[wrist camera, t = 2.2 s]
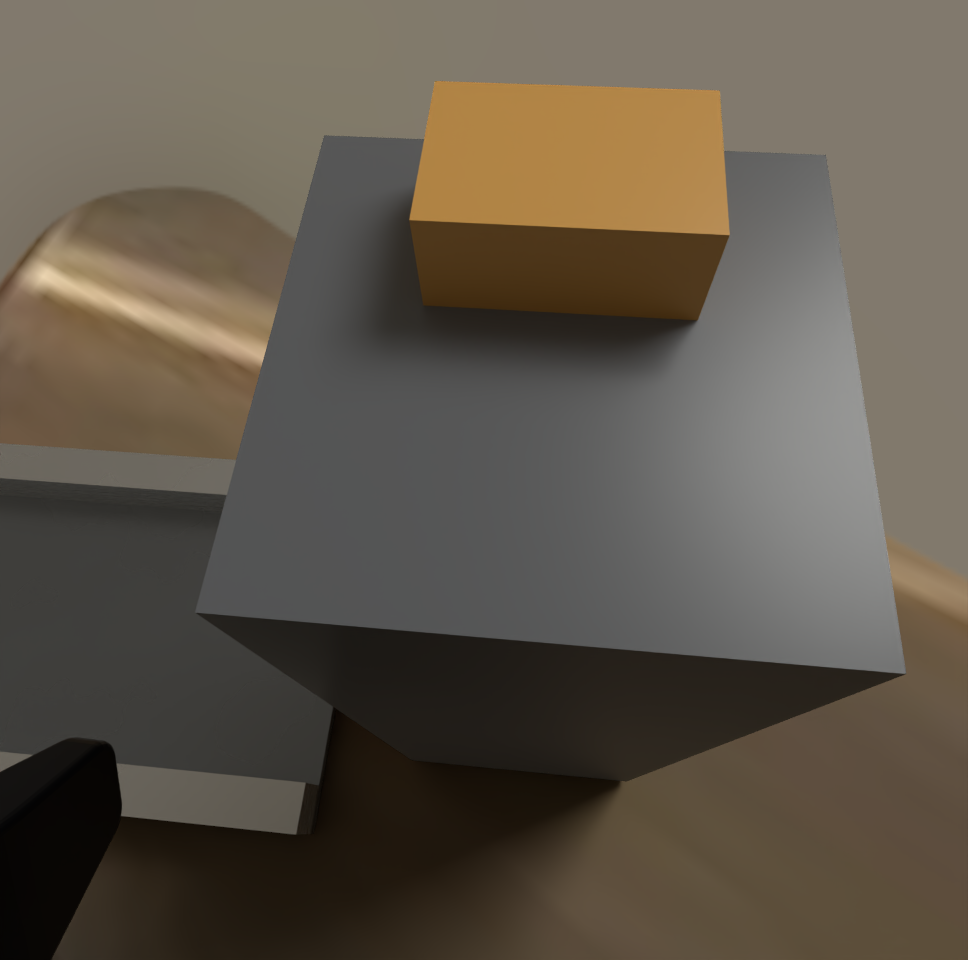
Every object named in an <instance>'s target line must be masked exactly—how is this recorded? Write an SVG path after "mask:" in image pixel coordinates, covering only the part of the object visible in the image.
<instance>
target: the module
mask: <svg viewBox="0 0 968 960" xmlns="http://www.w3.org/2000/svg"><path fill="white" fill-rule="evenodd" d="M854 341H855V340H854V334H853V327H852V321H851V314H850V308H849V302H848V295H847V289H846V282H845V276H844V269H843V263H842V257H841V250H840V245H839V237H838V231H837V224H836V218H835V212H834V205H833V198H832V192H831V186H830V179H829V172H828V166H827V160H826V155H812V154H810V155H809V154H786V153H760V152H759V153H758V152H735V151H724V146H723V131H722V116H721V102H720V91H715V90H714V91H713V90H684V89H654V88H624V87H595V86H594V87H593V86H564V85H534V84H503V83H475V82H474V83H473V82H445V81H435V84H434V90H433V95H432V100H431V105H430V111H429V116H428V122H427V127H426V132H425V138H424V139H401V138H376V137H350V136H348V137H347V136H324V138H323V142H322V146H321V150H320V153H319V157H318V161H317V164H316V168H315V172H314V176H313V179H312V183H311V186H310V190H309V194H308V197H307V201H306V205H305V208H304V213H303V216H302V220H301V223H300V227H299V231H298V234H297V238H296V242H295V245H294V249H293V253H292V256H291V260H290V264H289V267H288V271H287V275H286V279H285V282H284V286H283V290H282V293H281V297H280V301H279V304H278V308H277V312H276V315H275V319H274V323H273V326H272V330H271V334H270V338H269V341H268V345H267V349H266V352H265V356H264V360H263V363H262V367H261V371H260V374H259V378H258V382H257V385H256V389H255V393H254V396H253V400H252V404H251V408H250V411H249V415H248V419H247V422H246V426H245V430H244V433H243V437H242V441H241V444H240V448H239V452H238V455H237V459H236V463H235V467H234V470H233V474H232V478H231V481H230V485H229V489H228V492H227V496H226V500H225V503H224V507H223V511H222V514H221V518H220V522H219V526H218V529H217V533H216V537H215V540H214V544H213V548H212V551H211V555H210V559H209V562H208V566H207V570H206V573H205V577H204V581H203V585H202V588H201V592H200V596H199V599H198V603H197V607H196V610H195V613H196V614H198V615H199V616H201V617H202V618H204V619H205V620H207V621H208V622H210V623H211V624H212V625H214V626H215V627H217V628H218V629H220V630H221V631H223V632H224V633H226V634H227V635H229V636H230V637H232V638H233V639H234V640H236V641H237V642H239V643H240V644H242V645H243V646H245V647H246V648H248V649H249V650H251V651H252V652H254V653H255V654H256V655H258V656H259V657H261V658H262V659H264V660H265V661H267V662H268V663H270V664H271V665H273V666H274V667H276V668H277V669H279V670H280V671H281V672H283V673H284V674H286V675H287V676H289V677H290V678H292V679H293V680H295V681H296V682H298V683H299V684H301V685H302V686H303V687H305V688H306V689H308V690H309V691H311V692H312V693H314V694H315V695H317V696H318V697H320V698H321V699H323V700H324V701H325V702H327V703H328V704H330V705H331V706H333V707H334V708H336V709H337V710H339V711H340V712H342V713H343V714H345V715H346V716H348V717H349V718H350V719H352V720H353V721H355V722H356V723H358V724H359V725H361V726H362V727H364V728H365V729H367V730H368V731H370V732H371V733H372V734H374V735H375V736H377V737H378V738H380V739H381V740H383V741H384V742H386V743H387V744H389V745H390V746H392V747H393V748H394V749H396V750H397V751H399V752H400V753H402V754H403V755H405V756H406V757H408V758H409V759H411V760H414V761H424V762H434V763H444V764H455V765H465V766H475V767H485V768H495V769H505V770H515V771H525V772H536V773H546V774H556V775H566V776H576V777H586V778H596V779H607V780H617V781H629V780H631V779H634V778H637V777H639V776H642V775H644V774H647V773H650V772H652V771H655V770H657V769H660V768H663V767H665V766H668V765H670V764H673V763H676V762H678V761H681V760H683V759H686V758H689V757H691V756H694V755H696V754H699V753H702V752H704V751H707V750H709V749H712V748H715V747H717V746H720V745H722V744H725V743H728V742H730V741H733V740H735V739H738V738H741V737H743V736H746V735H748V734H751V733H754V732H756V731H759V730H761V729H764V728H767V727H769V726H772V725H775V724H777V723H780V722H782V721H785V720H788V719H790V718H793V717H795V716H798V715H801V714H803V713H806V712H808V711H811V710H814V709H816V708H819V707H821V706H824V705H827V704H829V703H832V702H834V701H837V700H840V699H842V698H845V697H847V696H850V695H853V694H855V693H858V692H860V691H863V690H866V689H868V688H871V687H873V686H876V685H879V684H881V683H884V682H886V681H889V680H892V679H894V678H897V677H899V676H902V675H905V674H906V669H905V663H904V657H903V650H902V644H901V637H900V631H899V624H898V618H897V611H896V605H895V598H894V592H893V586H892V579H891V573H890V566H889V560H888V553H887V547H886V540H885V534H884V528H883V521H882V515H881V509H880V502H879V496H878V489H877V482H876V476H875V470H874V463H873V456H872V450H871V444H870V437H869V431H868V425H867V418H866V411H865V405H864V399H863V392H862V385H861V379H860V373H859V366H858V360H857V353H856V347H855V342H854Z"/></svg>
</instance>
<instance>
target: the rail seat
mask: <svg viewBox="0 0 968 960" xmlns="http://www.w3.org/2000/svg"><path fill="white" fill-rule="evenodd" d="M235 463H236V460H227V459H213V458H199V457H185V456H171V455H157V454H142V453H128V452H114V451H100V450H86V449H72V448H58V447H43V446H29V445H15V444H1V443H0V772H1V771H3V770H5V769H7V768H8V767H10V766H12V765H14V764H16V763H18V762H20V761H22V760H24V759H26V758H28V757H30V756H32V755H34V754H36V753H38V752H40V751H42V750H44V749H46V748H48V747H50V746H52V745H54V744H56V743H58V742H60V741H62V740H65V739H67V738H74V737H78V738H87V739H95V740H103V741H106V742H108V743H110V744H111V745H112V747H113V748H114V751H115V756H116V763H117V770H118V777H119V784H120V791H121V798H122V813H121V816H127V817H136V818H145V819H155V820H164V821H173V822H183V823H192V824H201V825H211V826H220V827H229V828H239V829H248V830H257V831H267V832H276V833H285V834H295V835H300V834H314V830H315V824H316V818H317V813H318V807H319V801H320V795H321V790H322V784H323V778H324V773H325V767H326V761H327V756H328V750H329V744H330V738H331V733H332V727H333V721H334V716H335V710H336V708H334V707H333V706H331V705H330V704H328V703H327V702H325V701H324V700H323V699H321V698H320V697H318V696H317V695H315V694H314V693H312V692H311V691H309V690H308V689H306V688H305V687H303V686H302V685H301V684H299V683H298V682H296V681H295V680H293V679H292V678H290V677H289V676H287V675H286V674H284V673H283V672H281V671H280V670H279V669H277V668H276V667H274V666H273V665H271V664H270V663H268V662H267V661H265V660H264V659H262V658H261V657H259V656H258V655H256V654H255V653H254V652H252V651H251V650H249V649H248V648H246V647H245V646H243V645H242V644H240V643H239V642H237V641H236V640H234V639H233V638H232V637H230V636H229V635H227V634H226V633H224V632H223V631H221V630H220V629H218V628H217V627H215V626H214V625H212V624H211V623H210V622H208V621H207V620H205V619H204V618H202V617H201V616H199V615H198V614H196V613H195V610H196V607H197V603H198V599H199V596H200V592H201V588H202V585H203V581H204V577H205V573H206V570H207V566H208V562H209V559H210V555H211V551H212V548H213V544H214V540H215V537H216V533H217V529H218V526H219V522H220V518H221V514H222V511H223V507H224V503H225V500H226V496H227V492H228V489H229V485H230V481H231V478H232V474H233V470H234V467H235Z"/></svg>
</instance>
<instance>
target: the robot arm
mask: <svg viewBox="0 0 968 960" xmlns="http://www.w3.org/2000/svg"><path fill="white" fill-rule="evenodd" d="M121 813H122V798H121V791H120V784H119V777H118V770H117V763H116V756H115V751H114V748H113V747H112V745H111V744H110V743H108V742H106V741H103V740H95V739H87V738H78V737H74V738H67V739H65V740H62V741H60V742H58V743H56V744H54V745H52V746H50V747H48V748H46V749H44V750H42V751H40V752H38V753H36V754H34V755H32V756H30V757H28V758H26V759H24V760H22V761H20V762H18V763H16V764H14V765H12V766H10V767H8V768H7V769H5V770H3V771H1V772H0V960H51V959H52V957H53V955H54V953H55V951H56V949H57V947H58V945H59V943H60V941H61V939H62V937H63V935H64V933H65V931H66V929H67V927H68V925H69V924H70V922H71V920H72V918H73V916H74V914H75V912H76V910H77V908H78V906H79V904H80V902H81V900H82V898H83V896H84V894H85V892H86V890H87V888H88V886H89V884H90V882H91V880H92V878H93V876H94V874H95V872H96V870H97V868H98V866H99V864H100V862H101V860H102V858H103V856H104V854H105V852H106V850H107V848H108V846H109V844H110V842H111V840H112V838H113V836H114V834H115V832H116V830H117V827H118V825H119V822H120V818H121Z"/></svg>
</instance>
